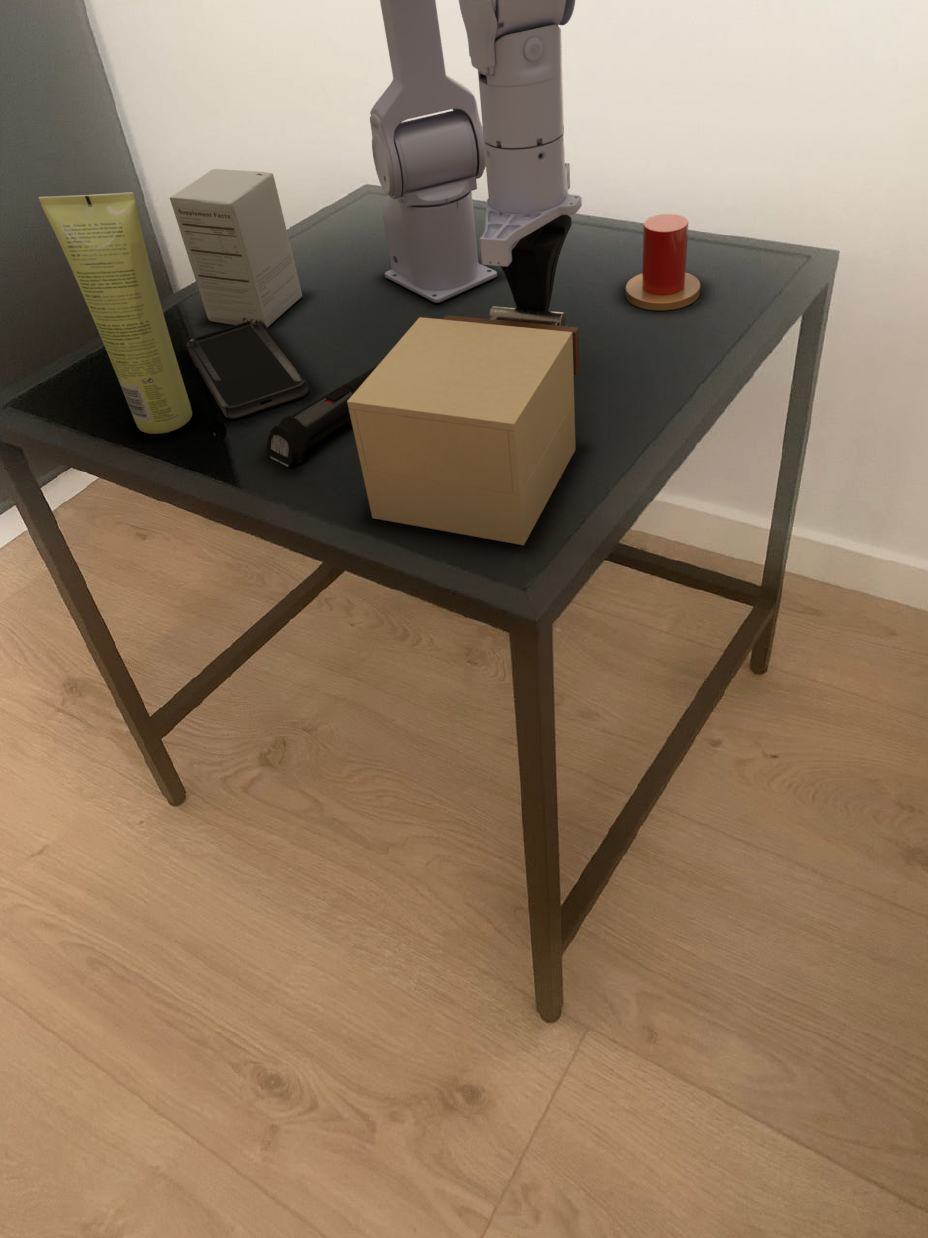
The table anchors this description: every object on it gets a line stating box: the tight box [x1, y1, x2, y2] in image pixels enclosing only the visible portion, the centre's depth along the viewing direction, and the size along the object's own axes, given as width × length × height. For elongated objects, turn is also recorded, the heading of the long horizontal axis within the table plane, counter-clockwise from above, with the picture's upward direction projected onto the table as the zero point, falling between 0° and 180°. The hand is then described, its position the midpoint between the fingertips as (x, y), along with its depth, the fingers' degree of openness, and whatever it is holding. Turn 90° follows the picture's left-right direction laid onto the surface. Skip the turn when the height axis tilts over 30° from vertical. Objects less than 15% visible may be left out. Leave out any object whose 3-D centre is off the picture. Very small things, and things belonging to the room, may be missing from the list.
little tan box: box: [347, 316, 577, 546], centre depth 69 cm, size 12×12×10 cm
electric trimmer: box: [266, 364, 379, 468], centre depth 80 cm, size 4×16×3 cm, turn 138°
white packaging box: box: [169, 168, 303, 329], centre depth 94 cm, size 7×7×13 cm
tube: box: [38, 191, 193, 435], centre depth 77 cm, size 6×5×20 cm
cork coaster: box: [625, 271, 701, 312], centre depth 91 cm, size 7×7×1 cm
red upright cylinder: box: [641, 213, 689, 295], centre depth 89 cm, size 4×4×6 cm
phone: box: [185, 320, 309, 420], centre depth 88 cm, size 8×1×15 cm
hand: (533, 314), depth 77 cm, fingers closed
